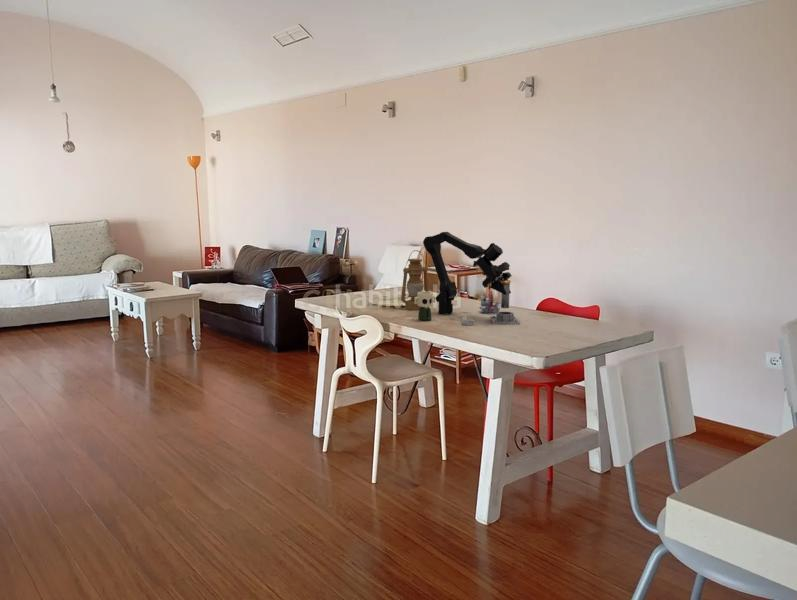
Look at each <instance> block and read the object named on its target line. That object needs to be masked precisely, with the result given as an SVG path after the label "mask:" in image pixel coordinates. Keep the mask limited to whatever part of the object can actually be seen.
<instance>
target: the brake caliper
mask: <svg viewBox="0 0 797 600" xmlns="http://www.w3.org/2000/svg"><path fill="white" fill-rule="evenodd" d="M480 298H481V300H480V306H479V307H478V308H479V309H480V310H481V311H482V312H483V314H486V313H494V315H495V313H496V312H500V310H501V305H500V303H499V301H497V300H496V302H494V297H493V291H492V290H490V292H489V297H486V294H481V296H480Z"/></svg>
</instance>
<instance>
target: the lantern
mask: <svg viewBox="0 0 797 600" xmlns="http://www.w3.org/2000/svg"><path fill="white" fill-rule="evenodd" d="M413 252H418V253H419V254H420V255H421V256H422V258H423V259H422V258H411V256H412V254H413ZM408 262H409V264H408ZM421 262H423V263H424V265H425V266H423V264H422V263H421ZM407 265H408V266H407ZM406 266H407V267H406ZM402 270H403V277H402V278H403V279H402V287H401V295H400V300H401V301H400V302H402V303H404V309H405V310H407V311H419V309H420V306H418V305H417V304H415V303H414V298H415V297H417V293H418V292H430V290H429V279H428V270H429V267H427V264H426V262H425V258H424V256H423V254H422V252H421V251H420V250H412V251H411V253H410V255H409V257H408V258H407V261H406V264H405V266H404V268H403V269H402ZM422 274H423V278H424V279H423V280H424V281H423V280H422V279H421V278H422ZM408 277H409V278H408ZM407 279H408V280H407ZM406 290H407V294H406ZM423 290H424V291H423ZM406 296H407V297H408V298H410V299H408V300H406V299H405V298H406ZM416 302H417V299H416Z"/></svg>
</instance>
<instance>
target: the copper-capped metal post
mask: <svg viewBox="0 0 797 600" xmlns="http://www.w3.org/2000/svg"><path fill="white" fill-rule="evenodd" d="M511 281H512V280H509V279H508V280H501V283H502V286H503V288H504V289H505V291H506V293H507V294H506V295H504V294H502V293H500V294H501V295H500V297H501V299H500V301H501V302H500V309H509V308H510V294H509V292H510V291H511V288H510V287H511V286H510V285H511Z"/></svg>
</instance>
